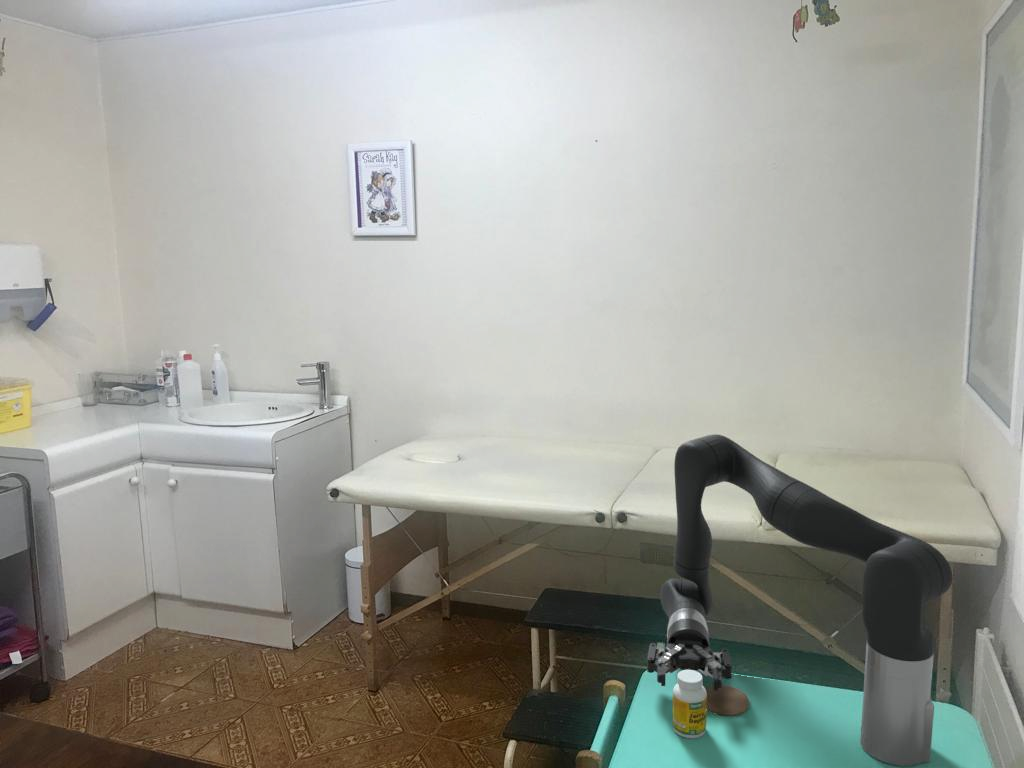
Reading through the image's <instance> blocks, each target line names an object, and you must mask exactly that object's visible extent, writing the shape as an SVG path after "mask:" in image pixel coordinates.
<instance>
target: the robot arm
mask: <svg viewBox="0 0 1024 768" xmlns="http://www.w3.org/2000/svg"><path fill="white" fill-rule="evenodd" d="M673 464H674V467H673V468H674V485H675V487H674V488H675V504H676V505H675V506H676V518H677V519H676V523H677V525H676V526H677V527H676V540H675V546H674V556H673V562H672V563H673V569H674V572H675V573H676V574H677V575H678V576H680V577H681V578H683V579H681V578H673V577H672V578H669V579H667V580H665V581H664V583H663V584H662V585H661V589H660V595H659V596H660V597H659V598H660V603H661V607H662V611H664V613H665V615H666V617H667V618H668V623H667V630H666V631H667V632H666V633H667V634H666V646H665V647H664V648H662V647H661V648H659V647H657V643H654V642H650V643H649V648H648V652H647V659H646V660H647V661H646V671H647V673H649V674H650V673H654V672H655V673H656V682H657V683H658V684H660V685H661V686H660V687H666V678H667V677H666V674H668V673H669V674H672V673H674V672H676V671H678V670H694V671H698V672H699V673H700V674H703V675H704V676H705V677H711V678H712V685H713V690H714V691H718V688H721V687H722V685H723V678H725V679H726V680H731V679H733V677H732V676H733V675H732V667H733V664H732V660H731V656H730V652H729V651H730V650H729V649H727V648H721V649H720V650H721V651H720V652H714V651H713V650H712V649H711V648H710V636H709V635H710V634H709V627H708V624H707V619H706V617H707V616H708V615H709V614H710V613H711V612H712V610H713V606H714V595H713V591H712V586H711V581H710V562H711V556H712V550H713V549H712V547H713V538H712V532H711V529H710V527H709V524H708V522H707V521H706V520H707V519H706V518H705V516H704V514H703V511H702V502H703V496H704V492H705V489H706V488H707V487H711V486H713V485H717V484H720V483H724V482H726V483H730V484H732V485H735V486H737V487H738V488H741V490H744V491H745V492H746V493H748V494H749V495H750V496H751V497H752V498H753V500H754V502H755V505H756V507H757V509H758V511H759V513H760V515H761V516H762V517H763V519H764V521H766V523H768V524H769V525H770V526H771V527H773V528H774V529H776V530H778V531H779V532H781V533H782V534H784V535H786V536H787V537H790V538H791V539H793V540H794V541H796V542H799V543H801V544H802V545H803V544H804V545H806V546H809V547H812V548H816V549H821V550H824V551H828V552H833V553H837V554H841V555H846V556H849V557H851V558H854V559H856V560H859V561H862V562H864V563H865V565H864V569H863V575H862V576H863V577H862V622H863V625H864V628H865V630H866V647H865V662H864V663H865V664H864V665H865V666H864V676H863V677H864V679H863V692H862V693H863V694H862V696H863V697H862V711H861V726H860V745H861V747H862V748H863V749H864V751H865V752H866V753H868V754H869V755H870V756H871V757H873V758H875V759H876V760H878V761H881V762H882V763H886V764H889V765H895V766H898V767H899V766H901V767H911V766H912V767H913V766H916V765H919V764H921V763H931V751H932V741H933V730H934V729H933V728H934V727H933V726H934V717H935V716H934V715H935V703H934V702H933V700H932V698H931V691H932V680H933V665H934V656H935V655H934V652H935V643H936V642H935V635H934V633H933V631H932V630H931V629H930V628H929V627H927V625H925V624H923V623H922V605H925V604H928V603H929V602H932V601H934V600H937V599H938V598H940V597H942V596H943V595H944V594H945V593H946V592H947V591H948V590H949V589H950V588H951V586H952V583H953V572H952V571H953V570H952V568H951V566H950V563H949V561H948V559H946V557H945V556H944V555H943V553H942V552H940V551H939V550H938V549H937V548H935V547H934V546H933V545H931V544H930V543H928V542H926V541H924V540H922V539H919V538H917V537H915V536H912V535H910V534H907V533H905V532H902V531H900V530H897V529H895V528H893V527H890V526H888V525H886V524H884V523H882V522H878V521H876V520H874V519H872V518H871V517H868V516H866V515H864V514H862V513H860V512H859V511H857V510H854V509H853V508H851V507H849V506H847V505H845V504H844V503H841V502H840V501H838V500H836V499H835V498H832V497H831V496H829V495H826V494H825V493H824V492H821V491H820V490H819V489H816V488H814V487H813V486H811V485H808V484H807V483H805V482H803V481H801V480H799V479H797V478H794V477H793V476H790V475H789V474H787V473H785V472H783V471H782V470H779V469H778V468H776V467H774V466H773V465H771V464H769V463H767V462H765V461H763V460H761V459H760V458H759V457H757V456H755V455H754V454H753V453H751V452H750V451H749V450H747V449H745V448H744V447H742V446H741V445H740V444H739V443H737V442H735V441H734V440H732V439H730V438H729V437H726V436H725V435H721V434H707V435H705V436H701V437H698V438H694V439H692V440H691V439H690V440H688V441H686V442H684V443H682V444H680V445H679V447H678V448H677V450H676V452H675V457H674V463H673ZM662 656H663V657H662Z"/></svg>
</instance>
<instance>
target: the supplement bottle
mask: <svg viewBox="0 0 1024 768" xmlns="http://www.w3.org/2000/svg"><path fill="white" fill-rule="evenodd" d="M676 678H677V679H676V682H677V683H676V684H675V685H674V687H673V690H672V729H673V730H674V732H675V734H677V735H679V736H680V737H682V738H687V739H698V738H700V737H702V736H703V735H704V734H705V733H706V728H707V710H706V704H707V693H706V690H705V686H704V685H703V684H704V682H703V681H704V680H703V675H702V673H701V672H700V671H698V670H690V669H681V670H680V671H678V672H677V677H676Z"/></svg>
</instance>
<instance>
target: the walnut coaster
mask: <svg viewBox="0 0 1024 768" xmlns="http://www.w3.org/2000/svg"><path fill="white" fill-rule="evenodd" d="M704 688H705V690H706V693H707V704H706V709H707V710H708V712H709V711H710V712H709V713H711V712H712V714H714V713H716V714H715V715H717V714H718V716H722V715H723V717H735V716H739V715H742V714H744V713H746V712H747V711H748V709H749V707H750V698H749V696H748V695H747V694H746V693H745V692H743V691H742V690H740V689H738V688H736V687H733V686H730V685H725V684H722V687H721V688H718V691H714V690H713V684H711V685H708V686H707V685H706V686H704ZM707 710H706V711H707Z"/></svg>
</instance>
